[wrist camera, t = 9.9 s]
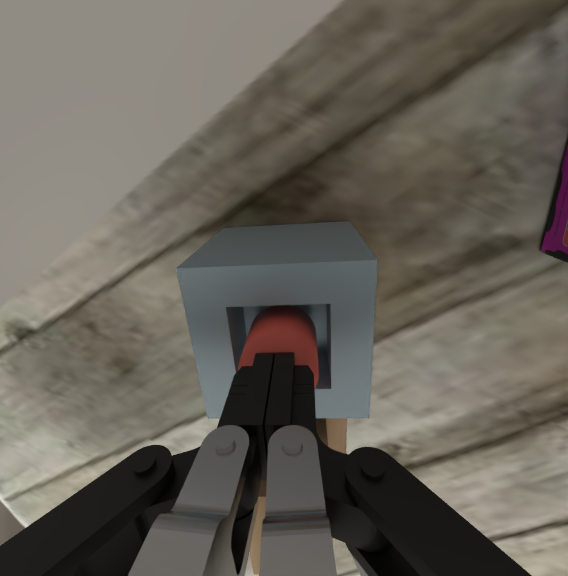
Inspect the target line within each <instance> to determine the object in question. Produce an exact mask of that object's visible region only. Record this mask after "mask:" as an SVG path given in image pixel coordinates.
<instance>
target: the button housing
mask: <svg viewBox="0 0 568 576" xmlns="http://www.w3.org/2000/svg"><path fill="white" fill-rule="evenodd" d="M377 263H378V260H377V258H376V257H375V256H374V254H373V253H372V251H371V250H370V249H369V247H368V246H367V244H366V243H365V242H364V240H363V239H362V237H361V236H360V235H359V233H358V232H357V230H356V229H355V228H354V226H353V225H352V223H351V222H350V221H340V222H322V223H303V224H284V225H266V226H247V227H228V228H223V229H222V230H221V231H220V232H218V233H217V234H216V235H215V236H214V237H213V238H211V239H210V240H209V241H208V242H207V243H205V244H204V245H203V246H202V247H201V248H200V249H198V250H197V251H196V252H195V253H194V254H193V255H191V256H190V257H189V258H188V259H187V260H186V261H184V262H183V263H182V264H181V265H180V266H178V267H177V268H176V270H177V275H178V280H179V285H180V289H181V294H182V299H183V304H184V308H185V313H186V318H187V323H188V327H189V332H190V337H191V341H192V346H193V351H194V356H195V360H196V365H197V370H198V375H199V379H200V384H201V389H202V393H203V398H204V403H205V408H206V412H207V417H208V418H220V417H221V414H222V411H223V408H224V405H225V402H226V399H227V396H228V393H229V389H230V387H231V383H232V380H233V377H234V375H235V374H236V372H237V371H238V365H239V361H240V358H241V355H242V352H243V349H244V346H245V343H246V340H247V337H248V334H249V330H250V327H251V324H252V322H253V320H254V318H255V317H256V316H257V314H258V313H260V312H261V311H262V310H264V309H266V308H268V307H270V306H274V305H290V306H294V307H297V308H299V309H301V310H302V311H304V312H305V313H306V314H307V315H308V316H309V317H310V318H311V319H312V321H313V323H314V325H315V328H316V337H317V353H318V368H319V379H318V383H317V385H316V387H315V411H316V418H369V412H370V393H371V375H372V356H373V337H374V319H375V300H376V281H377Z"/></svg>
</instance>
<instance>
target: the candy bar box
mask: <svg viewBox="0 0 568 576" xmlns="http://www.w3.org/2000/svg"><path fill="white" fill-rule="evenodd" d="M541 252H542V253H544V254H547V255H550V256H553V257H555V258H557V259H560V260H563V261H565V262H568V145H567V149H566V153H565V157H564V161H563V166H562V170H561V174H560V178H559V182H558V186H557V190H556V194H555V198H554V202H553V205H552V209H551V213H550V217H549V221H548V225H547V229H546V233H545V237H544V241H543V245H542V249H541Z"/></svg>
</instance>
